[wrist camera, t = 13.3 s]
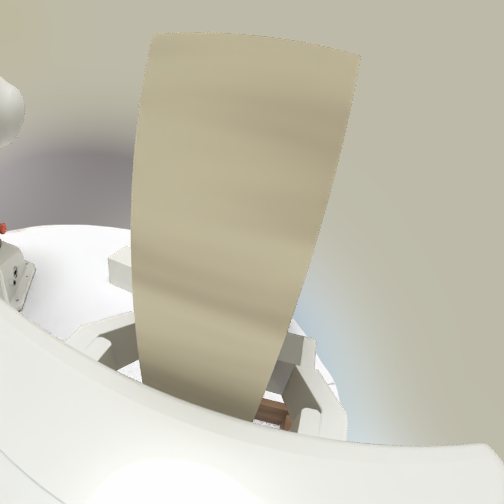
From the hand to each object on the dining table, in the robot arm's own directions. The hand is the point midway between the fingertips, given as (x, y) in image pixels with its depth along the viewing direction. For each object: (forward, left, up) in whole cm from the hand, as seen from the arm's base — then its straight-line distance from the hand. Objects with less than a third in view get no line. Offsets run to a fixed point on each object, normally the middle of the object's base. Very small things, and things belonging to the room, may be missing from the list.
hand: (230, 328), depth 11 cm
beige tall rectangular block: (+1, 0, -11) cm, 11 cm away
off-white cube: (-41, -11, -27) cm, 51 cm away
